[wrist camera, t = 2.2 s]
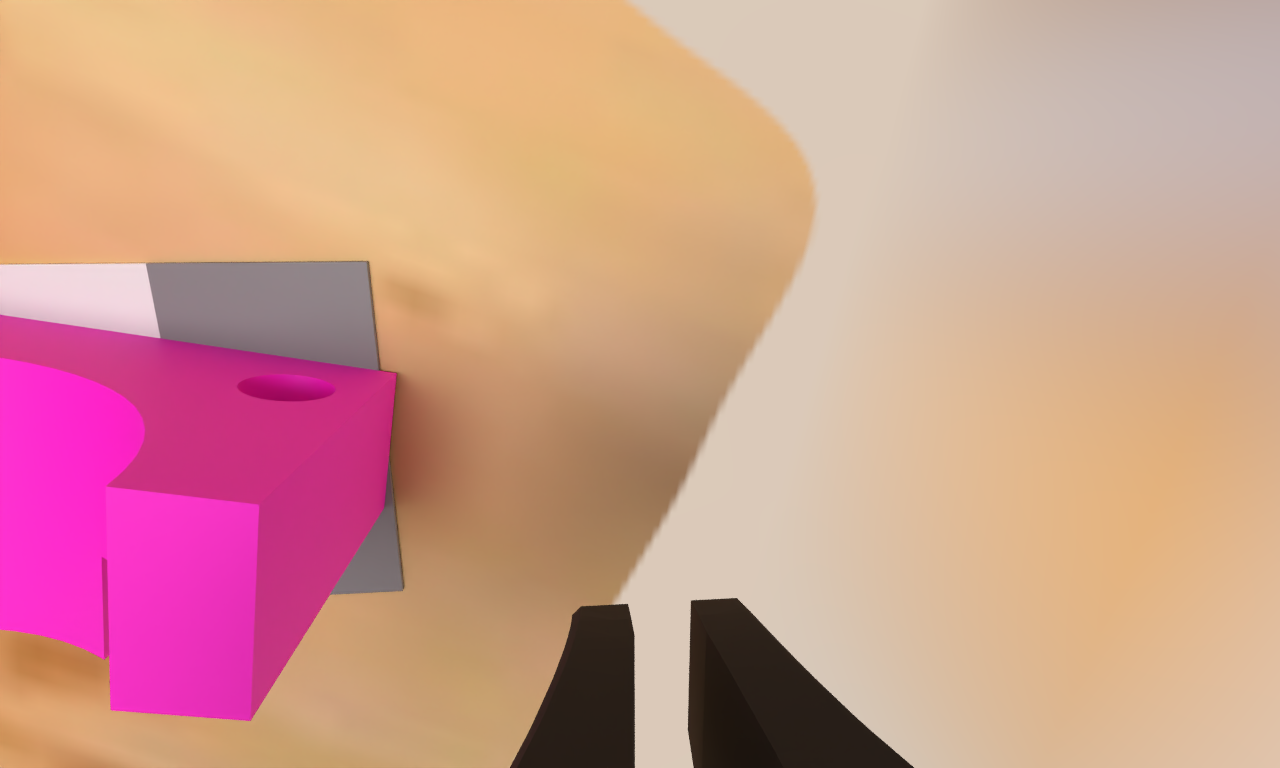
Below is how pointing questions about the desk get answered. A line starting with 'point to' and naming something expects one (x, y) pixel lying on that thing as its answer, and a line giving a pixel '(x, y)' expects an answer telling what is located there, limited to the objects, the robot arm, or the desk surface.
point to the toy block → (180, 505)
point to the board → (229, 333)
